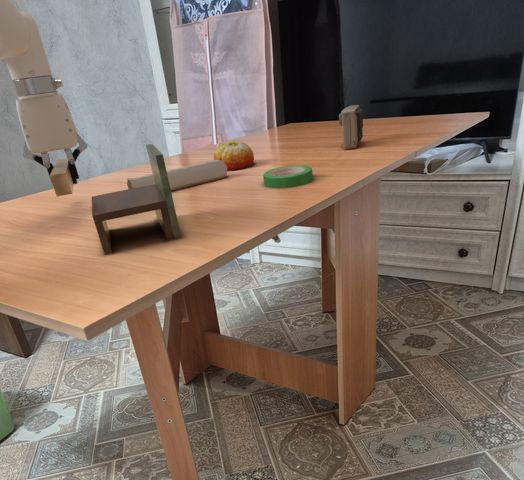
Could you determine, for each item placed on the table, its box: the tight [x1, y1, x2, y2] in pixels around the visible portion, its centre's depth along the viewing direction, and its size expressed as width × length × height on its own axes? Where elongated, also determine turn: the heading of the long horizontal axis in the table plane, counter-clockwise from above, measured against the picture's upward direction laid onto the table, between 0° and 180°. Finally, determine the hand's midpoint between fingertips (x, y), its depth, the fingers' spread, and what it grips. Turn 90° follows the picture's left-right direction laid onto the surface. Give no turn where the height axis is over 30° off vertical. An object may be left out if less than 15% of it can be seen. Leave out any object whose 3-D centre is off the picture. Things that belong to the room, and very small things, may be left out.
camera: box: [338, 104, 364, 150], centre depth 132 cm, size 11×6×10 cm, turn 162°
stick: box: [49, 157, 75, 197], centre depth 101 cm, size 3×24×4 cm, turn 18°
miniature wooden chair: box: [91, 143, 182, 256], centre depth 82 cm, size 13×15×14 cm
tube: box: [126, 159, 228, 192], centre depth 114 cm, size 5×5×25 cm
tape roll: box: [262, 164, 314, 189], centre depth 105 cm, size 11×11×3 cm
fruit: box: [213, 141, 255, 172], centre depth 127 cm, size 11×10×8 cm
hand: (66, 183), depth 102 cm, fingers closed on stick, 3 cm apart
